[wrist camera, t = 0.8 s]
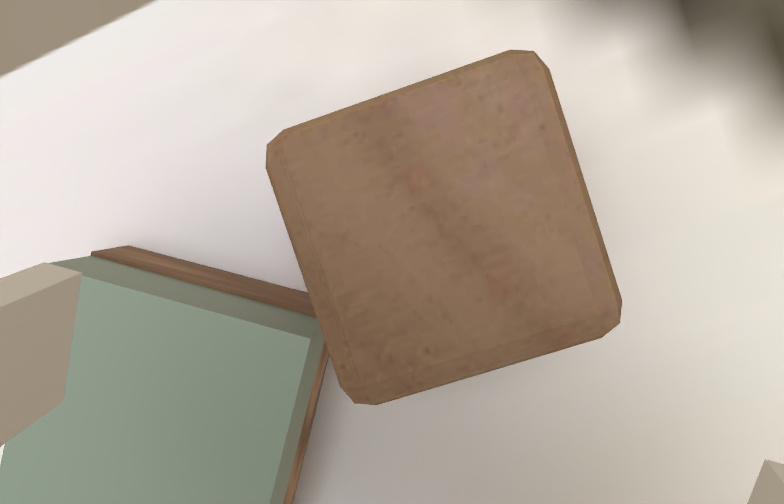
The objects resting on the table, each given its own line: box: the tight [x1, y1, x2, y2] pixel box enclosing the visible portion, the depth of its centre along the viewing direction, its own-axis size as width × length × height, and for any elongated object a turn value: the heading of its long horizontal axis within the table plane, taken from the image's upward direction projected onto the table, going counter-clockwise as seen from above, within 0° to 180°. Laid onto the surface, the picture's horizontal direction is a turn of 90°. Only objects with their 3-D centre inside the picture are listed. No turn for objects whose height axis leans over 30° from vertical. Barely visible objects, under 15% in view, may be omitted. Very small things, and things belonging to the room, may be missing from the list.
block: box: [266, 50, 622, 405], centre depth 33 cm, size 10×10×20 cm
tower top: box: [0, 256, 324, 504], centre depth 38 cm, size 14×14×5 cm
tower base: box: [91, 246, 329, 504], centre depth 43 cm, size 14×14×5 cm
